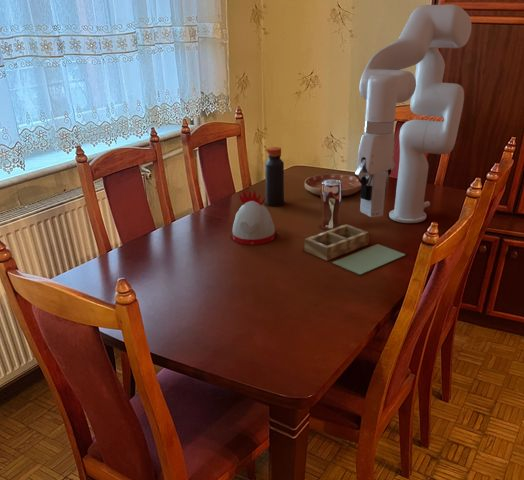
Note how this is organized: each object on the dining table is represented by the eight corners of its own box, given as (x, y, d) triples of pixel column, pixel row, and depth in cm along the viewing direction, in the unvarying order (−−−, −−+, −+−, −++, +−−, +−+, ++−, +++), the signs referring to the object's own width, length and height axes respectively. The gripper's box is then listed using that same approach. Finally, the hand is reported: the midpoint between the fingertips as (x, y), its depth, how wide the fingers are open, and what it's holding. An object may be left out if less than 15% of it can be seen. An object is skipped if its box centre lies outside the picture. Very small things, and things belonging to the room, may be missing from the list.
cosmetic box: (383, 216, 151) (388, 171, 145) (369, 218, 150) (374, 173, 143) (371, 209, 156) (376, 166, 149) (358, 211, 155) (362, 168, 148)
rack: (345, 235, 176) (346, 224, 174) (368, 244, 170) (369, 232, 167) (304, 251, 167) (304, 238, 164) (326, 260, 160) (327, 248, 158)
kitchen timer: (238, 227, 185) (236, 183, 176) (278, 229, 182) (277, 184, 174) (228, 243, 173) (225, 197, 165) (270, 245, 171) (269, 198, 162)
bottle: (287, 202, 205) (287, 147, 194) (278, 207, 200) (277, 151, 189) (271, 199, 208) (271, 145, 197) (262, 204, 203) (261, 149, 192)
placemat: (377, 244, 169) (377, 243, 169) (405, 255, 162) (406, 254, 162) (332, 263, 159) (332, 262, 159) (360, 275, 152) (360, 274, 151)
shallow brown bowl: (300, 183, 224) (300, 174, 222) (354, 180, 226) (354, 171, 224) (310, 201, 205) (310, 191, 203) (369, 197, 207) (369, 188, 205)
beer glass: (339, 231, 179) (341, 185, 171) (318, 230, 181) (319, 185, 172) (340, 223, 185) (343, 179, 177) (320, 222, 186) (321, 178, 178)
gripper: (389, 121, 147) (383, 187, 157) (345, 130, 138) (341, 200, 148) (411, 124, 142) (403, 193, 152) (367, 135, 133) (361, 207, 143)
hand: (373, 196), depth 150 cm, fingers closed on cosmetic box, 5 cm apart
